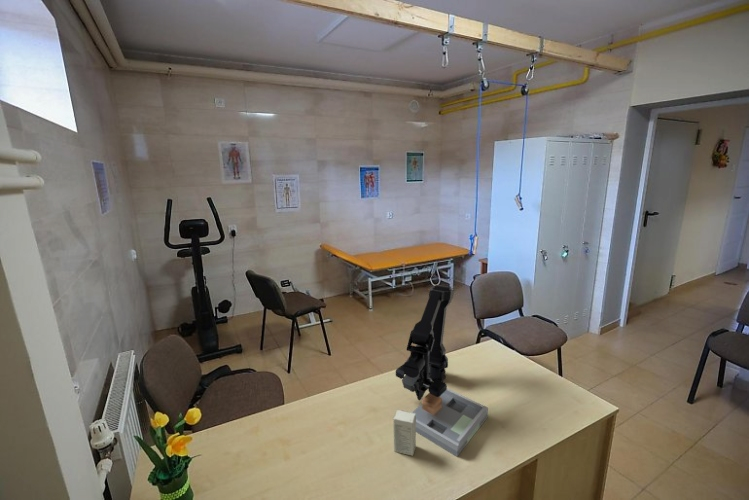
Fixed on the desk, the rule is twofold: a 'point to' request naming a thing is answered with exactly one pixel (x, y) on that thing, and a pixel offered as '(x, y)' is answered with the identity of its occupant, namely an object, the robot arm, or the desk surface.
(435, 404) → the block
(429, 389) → the robot arm
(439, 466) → the desk surface
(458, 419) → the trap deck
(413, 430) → the skincare box
